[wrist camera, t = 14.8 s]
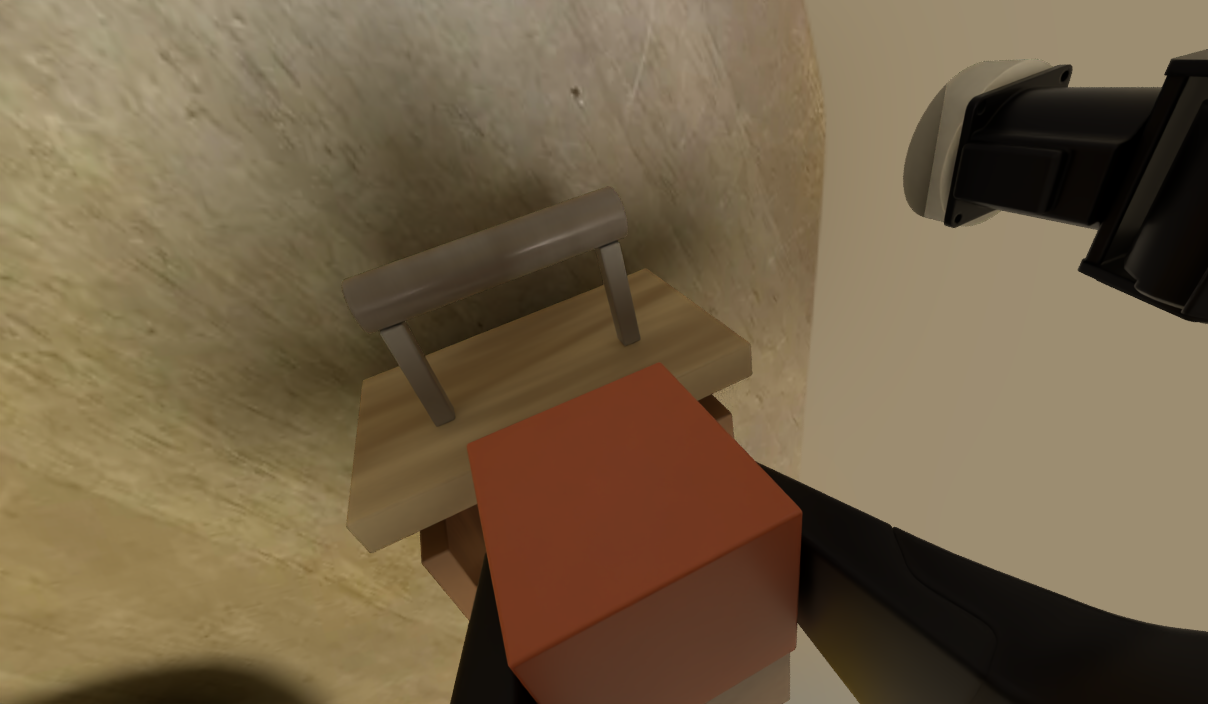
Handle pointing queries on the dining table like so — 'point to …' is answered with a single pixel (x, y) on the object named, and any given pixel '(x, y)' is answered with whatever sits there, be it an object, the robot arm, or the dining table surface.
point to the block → (635, 548)
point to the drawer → (506, 370)
